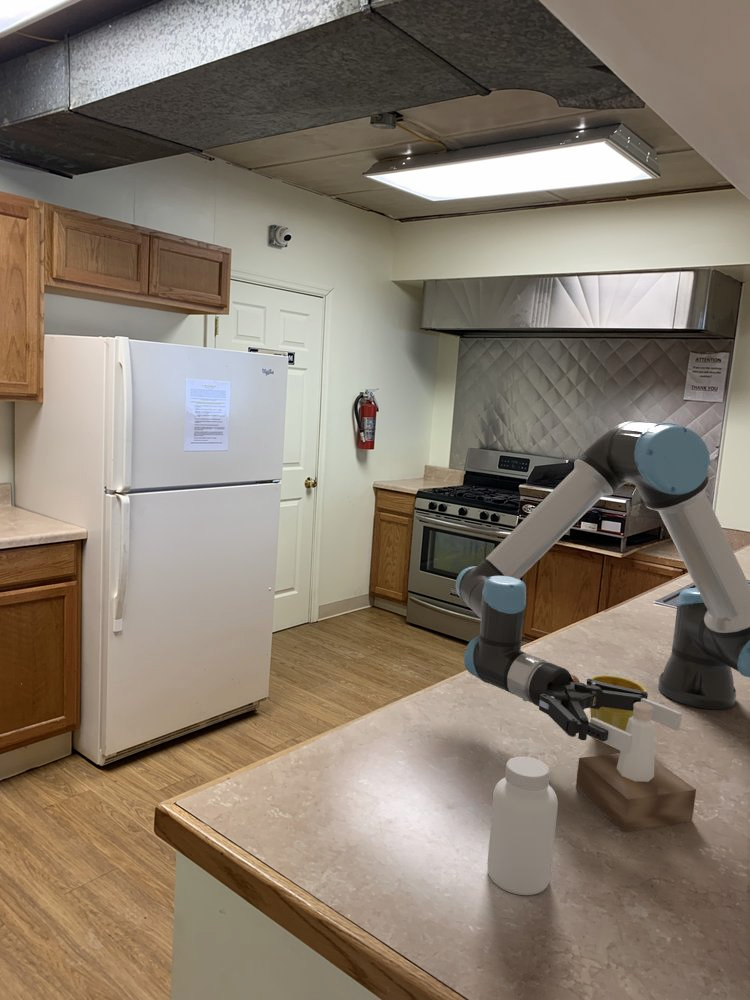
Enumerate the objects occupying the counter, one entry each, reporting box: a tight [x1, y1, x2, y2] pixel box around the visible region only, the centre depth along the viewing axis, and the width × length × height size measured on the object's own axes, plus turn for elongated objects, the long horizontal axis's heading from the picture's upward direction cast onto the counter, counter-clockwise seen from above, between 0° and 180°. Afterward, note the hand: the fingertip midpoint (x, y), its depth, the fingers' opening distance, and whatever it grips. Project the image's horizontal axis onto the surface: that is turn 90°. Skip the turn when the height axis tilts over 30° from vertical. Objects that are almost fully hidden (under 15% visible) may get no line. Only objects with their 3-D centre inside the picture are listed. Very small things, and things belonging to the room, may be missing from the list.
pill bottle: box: [487, 756, 559, 896], centre depth 92 cm, size 8×8×15 cm
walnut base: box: [575, 752, 697, 833], centre depth 112 cm, size 12×12×5 cm
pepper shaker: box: [617, 702, 656, 782], centre depth 110 cm, size 5×5×11 cm
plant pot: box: [589, 674, 648, 731], centre depth 133 cm, size 10×10×10 cm
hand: (656, 732), depth 108 cm, fingers open, 13 cm apart
